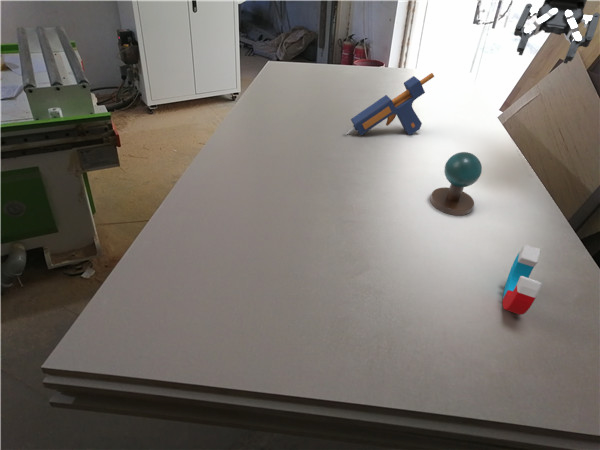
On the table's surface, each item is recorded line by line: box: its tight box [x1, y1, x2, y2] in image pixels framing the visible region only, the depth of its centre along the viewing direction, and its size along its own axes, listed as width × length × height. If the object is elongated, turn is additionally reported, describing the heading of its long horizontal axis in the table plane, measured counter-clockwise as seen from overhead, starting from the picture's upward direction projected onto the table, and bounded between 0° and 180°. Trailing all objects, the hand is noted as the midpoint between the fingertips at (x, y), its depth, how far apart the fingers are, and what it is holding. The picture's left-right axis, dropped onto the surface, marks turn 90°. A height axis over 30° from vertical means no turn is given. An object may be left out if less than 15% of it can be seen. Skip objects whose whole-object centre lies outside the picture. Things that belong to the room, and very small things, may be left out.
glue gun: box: [345, 72, 435, 136], centre depth 126 cm, size 6×31×15 cm
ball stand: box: [429, 151, 483, 216], centre depth 95 cm, size 10×10×14 cm
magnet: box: [502, 244, 542, 315], centre depth 71 cm, size 12×3×10 cm, turn 155°
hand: (543, 57), depth 83 cm, fingers open, 8 cm apart
